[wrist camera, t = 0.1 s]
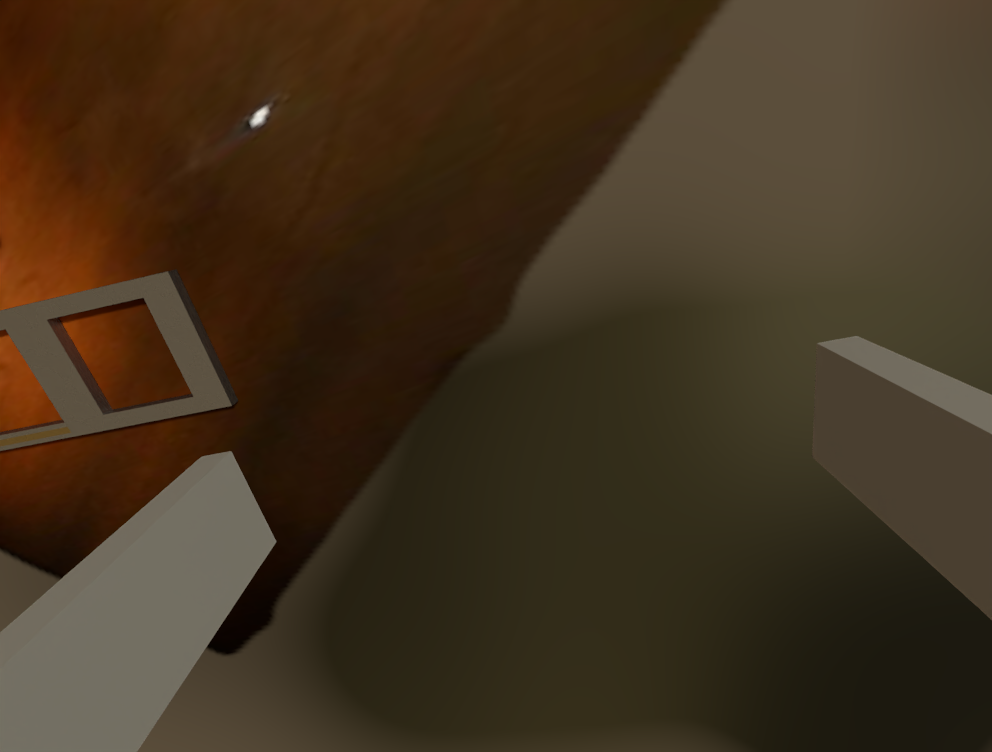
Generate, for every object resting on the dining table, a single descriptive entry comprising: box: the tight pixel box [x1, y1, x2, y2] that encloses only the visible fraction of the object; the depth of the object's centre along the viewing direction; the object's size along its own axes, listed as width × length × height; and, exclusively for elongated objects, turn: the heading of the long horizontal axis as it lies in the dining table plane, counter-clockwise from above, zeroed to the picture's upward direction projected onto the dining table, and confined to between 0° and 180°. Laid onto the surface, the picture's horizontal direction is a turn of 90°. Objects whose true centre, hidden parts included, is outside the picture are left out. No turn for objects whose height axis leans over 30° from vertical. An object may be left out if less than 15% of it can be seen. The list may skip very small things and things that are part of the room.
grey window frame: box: [0, 270, 238, 451], centre depth 41 cm, size 12×28×1 cm, turn 102°
